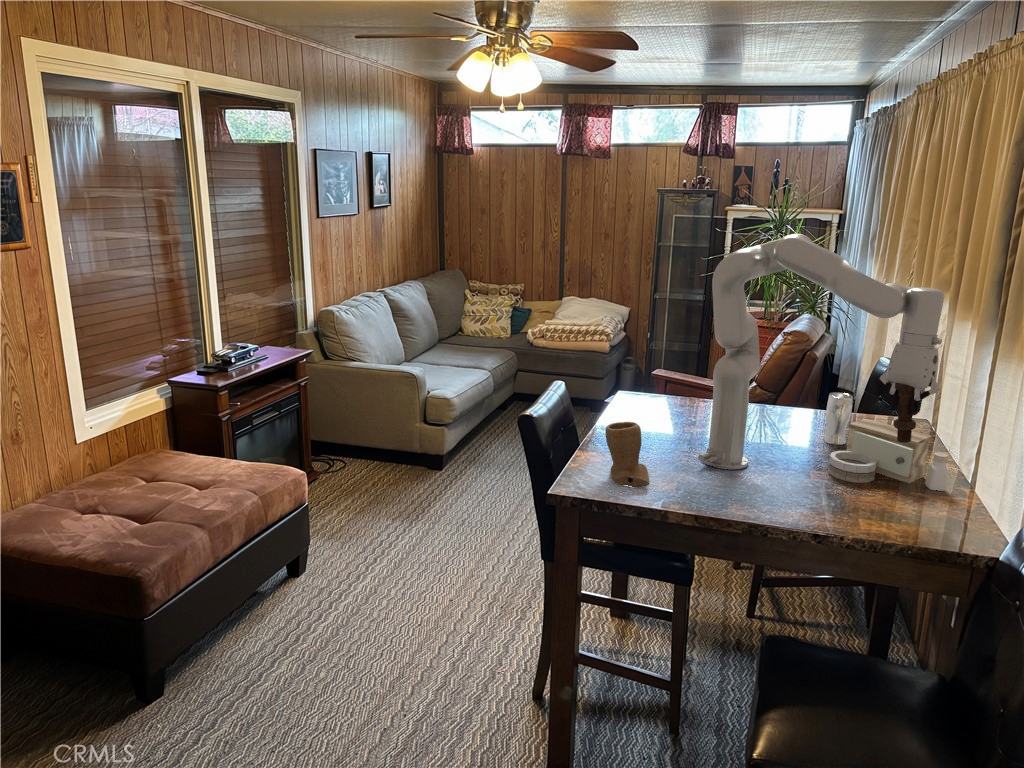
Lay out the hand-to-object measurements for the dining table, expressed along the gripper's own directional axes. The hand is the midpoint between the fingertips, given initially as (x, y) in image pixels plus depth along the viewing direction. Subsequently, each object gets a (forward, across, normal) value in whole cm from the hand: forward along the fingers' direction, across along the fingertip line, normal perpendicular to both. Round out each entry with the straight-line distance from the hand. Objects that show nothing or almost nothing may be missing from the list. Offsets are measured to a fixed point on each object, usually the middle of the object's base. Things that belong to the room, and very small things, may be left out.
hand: (903, 411), depth 180 cm
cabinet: (+23, +10, -11) cm, 27 cm away
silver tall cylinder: (+23, +30, -28) cm, 47 cm away
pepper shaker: (+23, -5, -16) cm, 28 cm away
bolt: (+8, -1, 0) cm, 8 cm away
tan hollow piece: (+24, +47, +47) cm, 71 cm away
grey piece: (+20, +10, -6) cm, 23 cm away
